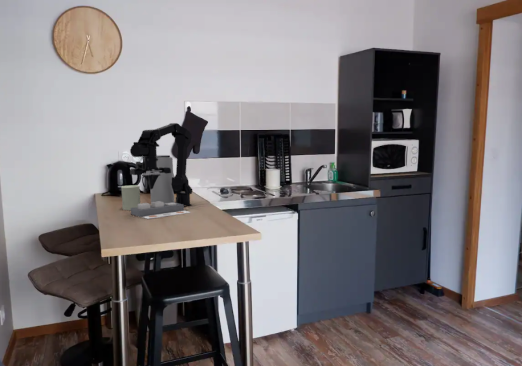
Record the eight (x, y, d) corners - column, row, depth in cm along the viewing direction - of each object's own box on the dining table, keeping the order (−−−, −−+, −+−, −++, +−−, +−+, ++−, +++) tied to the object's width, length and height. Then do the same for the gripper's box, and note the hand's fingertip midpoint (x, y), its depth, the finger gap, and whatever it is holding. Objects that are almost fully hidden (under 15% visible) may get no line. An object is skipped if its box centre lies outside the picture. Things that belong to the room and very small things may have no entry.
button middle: (159, 206, 218) (159, 201, 217) (163, 207, 214) (163, 202, 214) (151, 207, 215) (151, 202, 215) (155, 208, 211) (155, 203, 211)
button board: (174, 208, 226) (174, 202, 226) (183, 210, 218) (183, 204, 218) (131, 214, 212) (130, 207, 211) (139, 217, 204) (139, 210, 203)
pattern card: (184, 211, 217) (184, 210, 217) (190, 212, 212) (190, 211, 212) (142, 217, 203) (142, 216, 203) (147, 219, 198) (147, 218, 198)
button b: (172, 207, 222) (172, 202, 222) (176, 208, 219) (176, 203, 218) (164, 208, 219) (164, 203, 219) (168, 209, 216) (168, 204, 216)
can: (133, 210, 221) (132, 186, 220) (118, 209, 224) (117, 186, 223) (144, 207, 230) (143, 184, 229) (129, 206, 233) (128, 184, 232)
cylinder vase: (171, 205, 235) (169, 158, 232) (148, 205, 235) (145, 158, 232) (176, 201, 247) (174, 156, 244) (154, 201, 248) (152, 157, 245)
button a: (146, 207, 213) (146, 202, 213) (150, 208, 210) (150, 203, 210) (137, 208, 211) (137, 203, 210) (141, 210, 207) (141, 205, 207)
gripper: (160, 155, 222) (161, 186, 223) (124, 156, 210) (125, 189, 211) (171, 156, 213) (171, 188, 215) (134, 157, 202) (135, 191, 203)
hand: (151, 189), depth 211 cm, fingers closed
